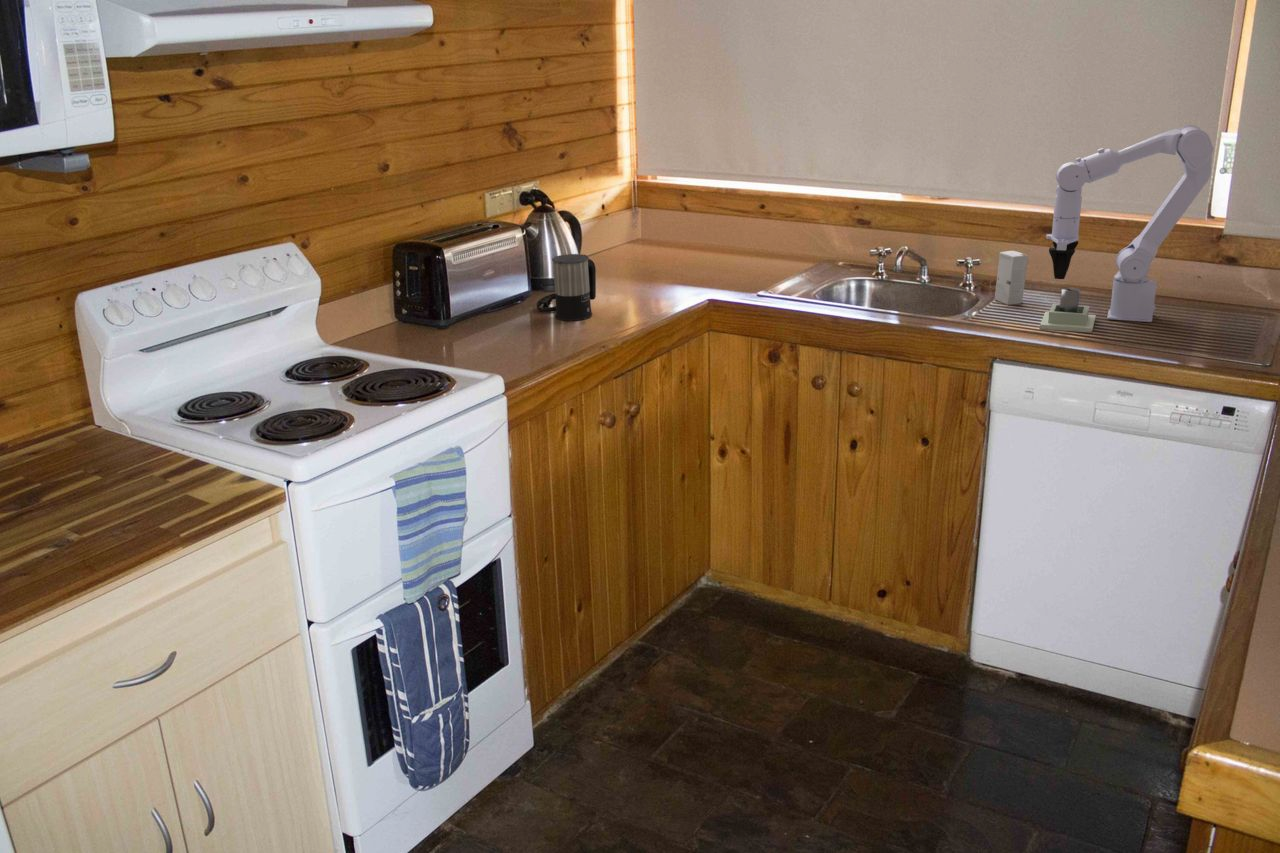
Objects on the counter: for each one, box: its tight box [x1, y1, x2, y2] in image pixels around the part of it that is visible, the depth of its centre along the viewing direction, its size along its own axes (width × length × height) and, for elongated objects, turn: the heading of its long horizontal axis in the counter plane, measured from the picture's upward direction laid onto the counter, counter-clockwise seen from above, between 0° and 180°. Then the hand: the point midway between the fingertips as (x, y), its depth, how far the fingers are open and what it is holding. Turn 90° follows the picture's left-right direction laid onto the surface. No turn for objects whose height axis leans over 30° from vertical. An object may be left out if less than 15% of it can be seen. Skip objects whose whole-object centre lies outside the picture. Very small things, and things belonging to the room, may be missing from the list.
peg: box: [1059, 286, 1081, 313], centre depth 257 cm, size 4×4×7 cm
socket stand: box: [1039, 303, 1097, 334], centre depth 257 cm, size 11×12×4 cm
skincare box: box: [994, 250, 1029, 306], centre depth 276 cm, size 6×4×12 cm
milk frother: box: [536, 253, 597, 322], centre depth 280 cm, size 14×16×15 cm
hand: (1061, 275), depth 263 cm, fingers open, 7 cm apart
